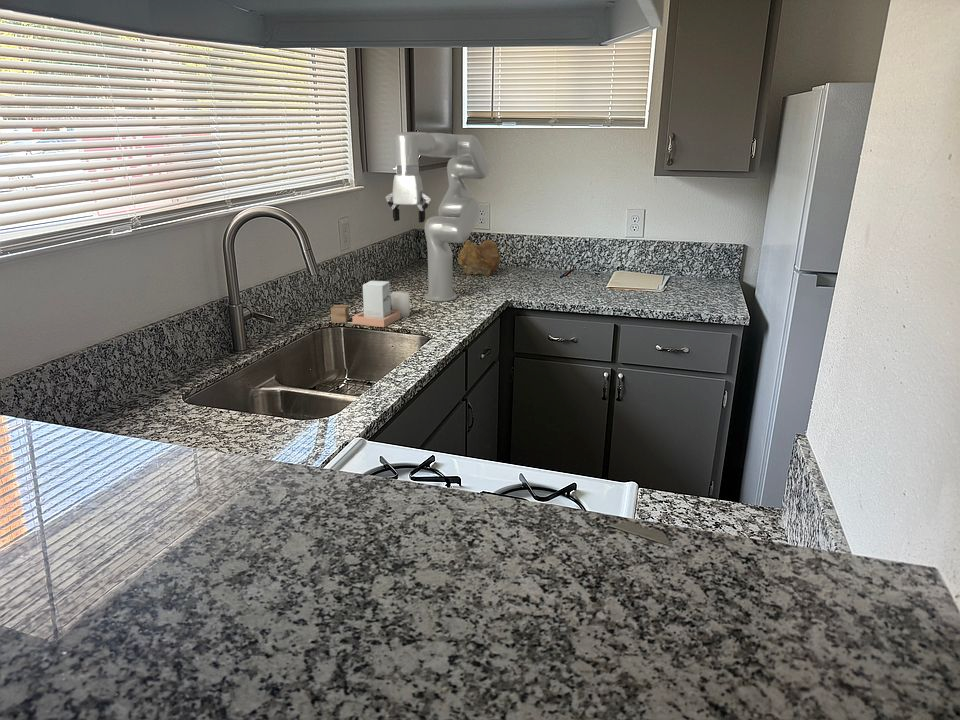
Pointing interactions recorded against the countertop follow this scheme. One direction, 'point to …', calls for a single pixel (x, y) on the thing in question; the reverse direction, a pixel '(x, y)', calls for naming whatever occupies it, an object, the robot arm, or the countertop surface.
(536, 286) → the countertop surface
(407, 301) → the white rounded lump
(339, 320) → the walnut block
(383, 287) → the supplement box
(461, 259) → the rough brown rock
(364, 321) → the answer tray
